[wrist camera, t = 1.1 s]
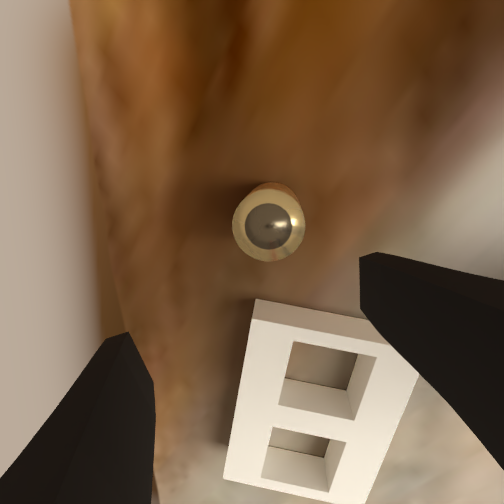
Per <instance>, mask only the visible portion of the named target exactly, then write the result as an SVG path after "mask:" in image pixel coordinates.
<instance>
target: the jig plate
mask: <svg viewBox="0 0 504 504" xmlns="http://www.w3.org/2000/svg"><path fill="white" fill-rule="evenodd" d="M293 341H297V342H302V343H307V344H312V345H317V346H323V347H328V348H333V349H338V350H343V351H348V352H353V353H358V357H357V360H356V363H355V366H354V369H353V372H352V375H351V378H350V381H349V384H348V387H347V390H341V389H336V388H331V387H326V386H321V385H316V384H311V383H306V382H301V381H296V380H292V379H287V378H284V377H285V373H286V369H287V365H288V361H289V356H290V352H291V348H292V344H293ZM418 376H419V373H418V372H417V371H416V370H415V369H414V368H413V367H412V366H411V365H410V364H409V363H408V362H407V361H406V360H405V359H404V358H403V357H402V356H401V355H400V354H399V353H398V352H397V351H396V350H395V349H394V348H393V347H392V346H391V345H390V344H389V343H388V342H387V341H386V340H385V339H384V338H383V337H382V336H381V335H380V334H379V332H378V331H377V330H376V329H375V327H374V326H373V325H372V324H371V322H370V321H369V320H365V319H360V318H355V317H349V316H344V315H339V314H334V313H329V312H323V311H318V310H313V309H308V308H302V307H297V306H292V305H287V304H282V303H276V302H271V301H266V300H261V299H256V300H255V305H254V310H253V315H252V321H251V326H250V332H249V337H248V343H247V348H246V354H245V359H244V365H243V370H242V376H241V381H240V387H239V392H238V398H237V403H236V409H235V414H234V420H233V425H232V431H231V436H230V442H229V447H228V453H227V458H226V464H225V469H224V475H223V479H226V480H231V481H235V482H240V483H244V484H249V485H253V486H258V487H262V488H267V489H271V490H276V491H280V492H285V493H289V494H294V495H298V496H303V497H307V498H312V499H316V500H321V501H325V502H330V503H334V504H365V502H366V499H367V497H368V495H369V492H370V490H371V488H372V485H373V483H374V480H375V478H376V476H377V473H378V471H379V469H380V466H381V464H382V462H383V459H384V457H385V454H386V452H387V450H388V447H389V445H390V443H391V440H392V438H393V436H394V433H395V431H396V428H397V426H398V424H399V421H400V419H401V417H402V414H403V412H404V410H405V407H406V405H407V402H408V400H409V398H410V395H411V393H412V391H413V388H414V386H415V384H416V381H417V379H418ZM272 427H277V428H282V429H286V430H291V431H296V432H301V433H305V434H310V435H315V436H320V437H324V438H329V439H330V441H329V444H328V447H327V450H326V453H325V456H324V458H322V457H317V456H313V455H308V454H303V453H299V452H294V451H289V450H285V449H280V448H275V447H271V446H268V444H269V440H270V435H271V431H272Z"/></svg>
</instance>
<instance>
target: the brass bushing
mask: <svg viewBox="0 0 504 504" xmlns="http://www.w3.org/2000/svg"><path fill="white" fill-rule="evenodd" d="M232 230H233V235H234V238H235V240H236V242H237V244H238V245H239V247H240V248H241V249H242V250H243V251H244V252H245V253H246V254H248V255H249V256H251V257H253V258H255V259H257V260H261V261H277V260H280V259H283V258H285V257H287V256H289V255H290V254H292V253H293V252H294V251H295V250H296V249H297V248H298V246H299V245H300V243H301V241H302V239H303V236H304V233H305V219H304V215H303V212H302V209H301V206H300V203H299V200H298V198H297V196H296V194H295V193H294V192H293V191H292V190H291V189H290V188H289V187H287V186H286V185H284V184H281V183H277V182H267V183H263V184H261V185H259V186H257V187H255V188H254V189H253V190H252V191H251V192H250V193H249V194H248V195H247V196H246V197H245V198H244V200H243V201H242V202H241V203H240V204H239V205H238V207H237V209H236V211H235V213H234V216H233V221H232Z"/></svg>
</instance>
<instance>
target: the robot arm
mask: <svg viewBox="0 0 504 504" xmlns="http://www.w3.org/2000/svg"><path fill="white" fill-rule="evenodd" d="M359 268H360V309H361V310H362V312H363V313H364V314H365V316H366V317H367V318H368V320H369V321H370V322H371V324H372V325H373V326H374V327H375V329H376V330H377V331H378V332H379V334H380V335H381V336H382V337H383V338H384V339H385V340H386V341H387V342H388V343H389V344H390V345H391V346H392V347H393V348H394V349H395V350H396V351H397V352H398V353H399V354H400V355H401V356H402V357H403V358H404V359H405V360H406V361H407V362H408V363H409V364H410V365H411V366H412V367H413V368H414V369H415V370H416V371H417V372H418V373H419V374H420V375H421V376H422V377H423V378H424V379H425V380H426V381H427V382H428V383H429V384H430V385H431V386H432V387H433V388H434V389H435V390H436V391H437V392H438V393H439V394H440V395H441V396H442V397H443V398H444V399H445V400H446V401H447V402H448V404H449V405H450V406H451V407H452V408H453V409H454V410H455V412H456V413H457V414H458V415H459V416H460V418H461V419H462V420H463V421H464V422H465V423H466V425H467V426H468V427H469V428H470V429H471V431H472V432H473V433H474V434H475V435H476V436H477V438H478V439H479V440H480V441H481V443H482V444H483V445H484V446H485V448H486V449H487V450H488V451H489V453H490V454H491V455H492V456H493V458H494V459H495V460H496V461H497V463H498V464H499V465H500V466H501V468H502V469H503V470H504V281H503V280H498V279H493V278H488V277H483V276H479V275H474V274H470V273H465V272H461V271H456V270H452V269H448V268H444V267H440V266H436V265H432V264H428V263H424V262H420V261H416V260H412V259H408V258H403V257H399V256H395V255H390V254H385V253H379V252H375V253H372V254H369V255H366V256H362V257H359ZM155 422H156V413H155V397H154V384H153V380H152V378H151V376H150V374H149V372H148V370H147V368H146V366H145V364H144V362H143V360H142V358H141V356H140V354H139V352H138V350H137V348H136V346H135V344H134V342H133V340H132V338H131V336H130V334H129V332H126V333H123V334H119V335H116V336H113V337H110V338H107V339H105V341H104V342H103V343H102V345H101V346H100V347H99V349H98V350H97V351H96V353H95V354H94V356H93V357H92V359H91V360H90V361H89V363H88V364H87V366H86V367H85V368H84V370H83V371H82V373H81V374H80V376H79V377H78V378H77V380H76V381H75V382H74V384H73V385H72V387H71V388H70V390H69V391H68V392H67V394H66V395H65V396H64V398H63V399H62V400H61V402H60V403H59V405H58V406H57V407H56V409H55V410H54V411H53V413H52V414H51V415H50V416H49V418H48V419H47V420H46V422H45V423H44V424H43V425H42V427H41V428H40V429H39V431H38V432H37V433H36V434H35V436H34V437H33V438H32V440H31V441H30V442H29V444H28V445H27V446H26V447H25V449H24V450H23V451H22V452H21V454H20V455H19V456H18V458H17V459H16V460H15V461H14V463H13V464H12V465H11V466H10V467H9V468H8V470H7V471H6V472H5V473H4V474H3V476H2V477H1V478H0V504H151V495H152V477H153V460H154V442H155Z"/></svg>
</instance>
